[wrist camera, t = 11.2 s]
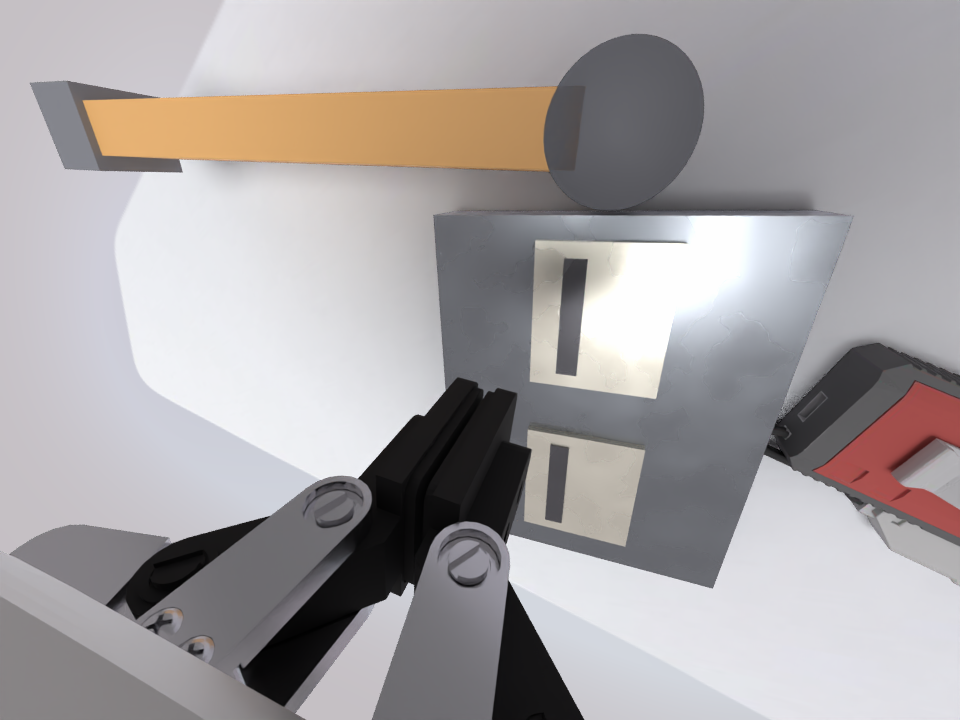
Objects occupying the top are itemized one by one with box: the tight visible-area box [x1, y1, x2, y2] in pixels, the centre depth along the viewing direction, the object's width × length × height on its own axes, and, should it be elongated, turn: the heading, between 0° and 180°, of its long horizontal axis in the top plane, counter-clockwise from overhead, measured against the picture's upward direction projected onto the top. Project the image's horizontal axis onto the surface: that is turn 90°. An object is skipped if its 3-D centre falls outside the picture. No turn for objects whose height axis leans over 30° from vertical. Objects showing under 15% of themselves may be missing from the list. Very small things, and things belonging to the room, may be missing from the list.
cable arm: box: [30, 34, 704, 210], centre depth 14 cm, size 26×4×4 cm, turn 88°
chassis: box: [434, 210, 854, 588], centre depth 21 cm, size 16×20×4 cm
